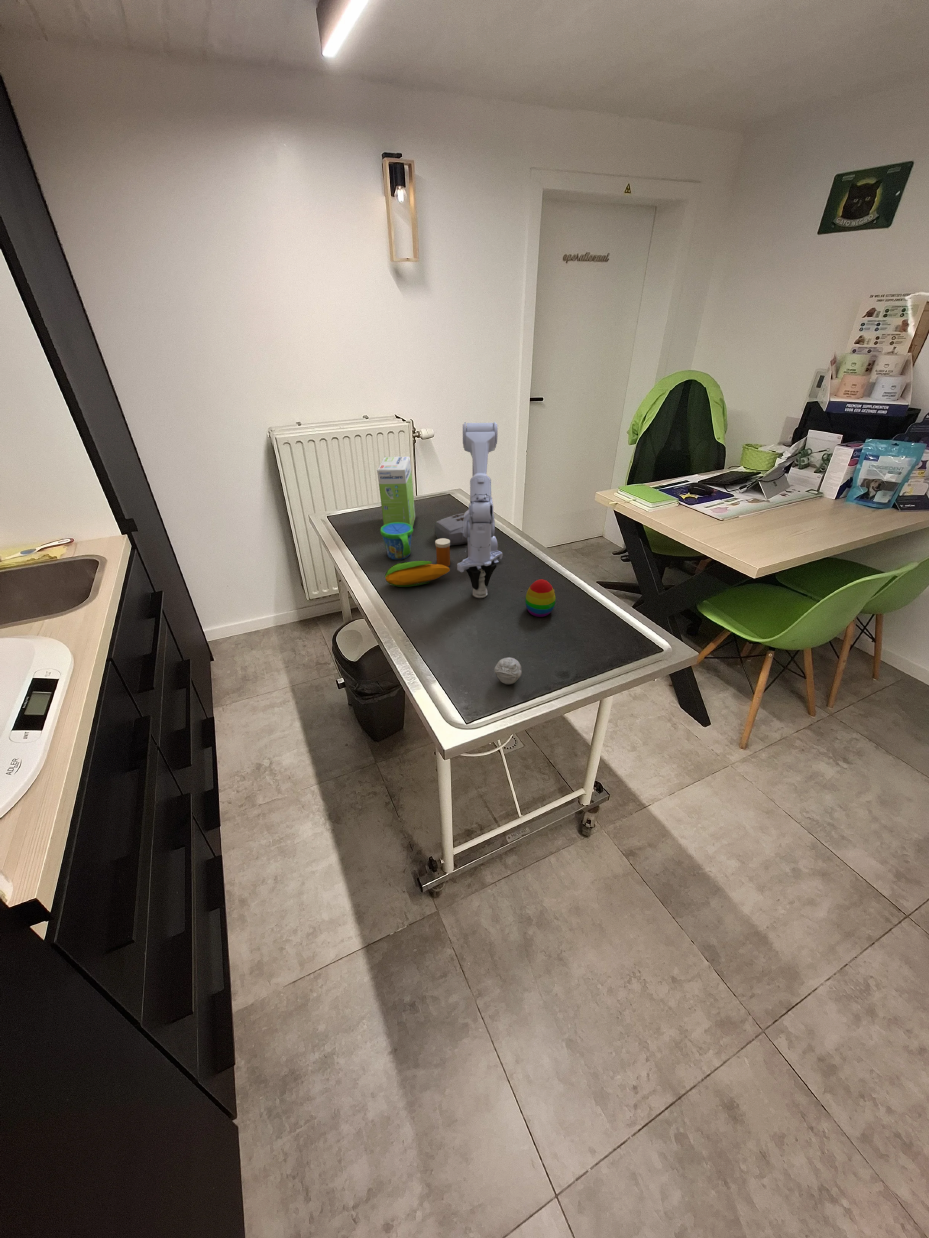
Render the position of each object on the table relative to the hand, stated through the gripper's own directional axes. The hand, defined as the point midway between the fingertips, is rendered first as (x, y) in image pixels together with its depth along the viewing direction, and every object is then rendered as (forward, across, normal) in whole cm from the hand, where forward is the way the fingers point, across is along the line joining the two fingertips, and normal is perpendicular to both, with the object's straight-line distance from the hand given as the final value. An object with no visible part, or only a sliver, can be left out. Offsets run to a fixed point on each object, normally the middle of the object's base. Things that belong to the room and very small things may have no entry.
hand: (480, 586), depth 141 cm
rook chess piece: (+3, 0, 0) cm, 3 cm away
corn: (+3, -11, +17) cm, 20 cm away
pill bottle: (+3, +2, +23) cm, 23 cm away
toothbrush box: (+3, +6, +60) cm, 60 cm away
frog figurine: (+3, -18, -35) cm, 39 cm away
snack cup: (+3, -7, +37) cm, 38 cm away
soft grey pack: (+3, +20, +37) cm, 42 cm away
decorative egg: (+3, +8, -17) cm, 19 cm away
